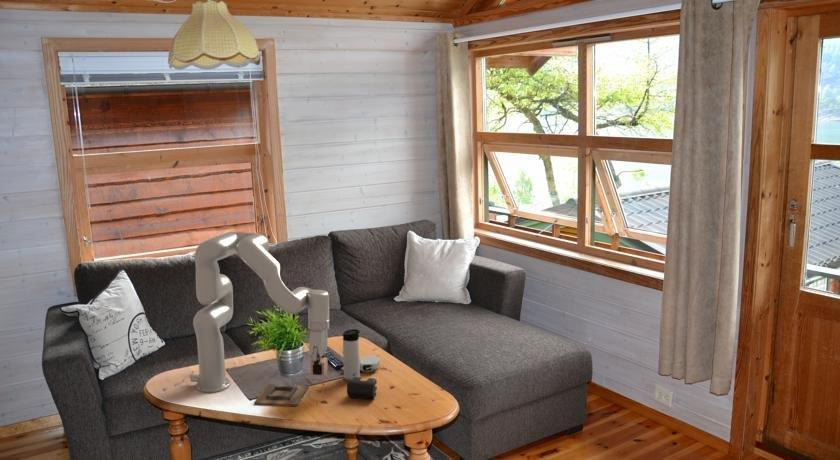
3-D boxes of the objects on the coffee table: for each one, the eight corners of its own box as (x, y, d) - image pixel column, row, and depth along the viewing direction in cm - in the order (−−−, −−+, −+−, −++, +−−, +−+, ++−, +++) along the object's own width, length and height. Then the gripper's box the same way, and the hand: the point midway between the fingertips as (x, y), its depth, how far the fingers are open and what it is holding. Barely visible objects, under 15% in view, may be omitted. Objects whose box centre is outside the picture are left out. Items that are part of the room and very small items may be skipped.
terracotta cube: (310, 375, 251) (310, 362, 250) (314, 369, 256) (314, 356, 255) (324, 375, 251) (324, 362, 250) (327, 370, 256) (327, 357, 255)
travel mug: (358, 382, 268) (357, 333, 264) (341, 381, 270) (340, 332, 266) (362, 376, 274) (361, 328, 270) (346, 374, 276) (345, 327, 272)
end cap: (346, 400, 253) (346, 382, 252) (352, 392, 260) (351, 375, 259) (373, 402, 251) (372, 384, 250) (377, 394, 258) (377, 377, 257)
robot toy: (340, 376, 276) (377, 375, 275) (339, 365, 276) (376, 364, 274) (346, 364, 288) (382, 363, 287) (345, 354, 288) (381, 353, 286)
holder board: (254, 404, 250) (253, 399, 249) (268, 386, 265) (267, 381, 265) (297, 406, 248) (297, 401, 248) (308, 387, 264) (308, 382, 263)
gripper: (314, 316, 258) (315, 361, 262) (302, 331, 242) (303, 380, 245) (334, 317, 258) (334, 362, 261) (323, 332, 241) (323, 381, 245)
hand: (319, 370), depth 253 cm, fingers closed on terracotta cube, 4 cm apart
